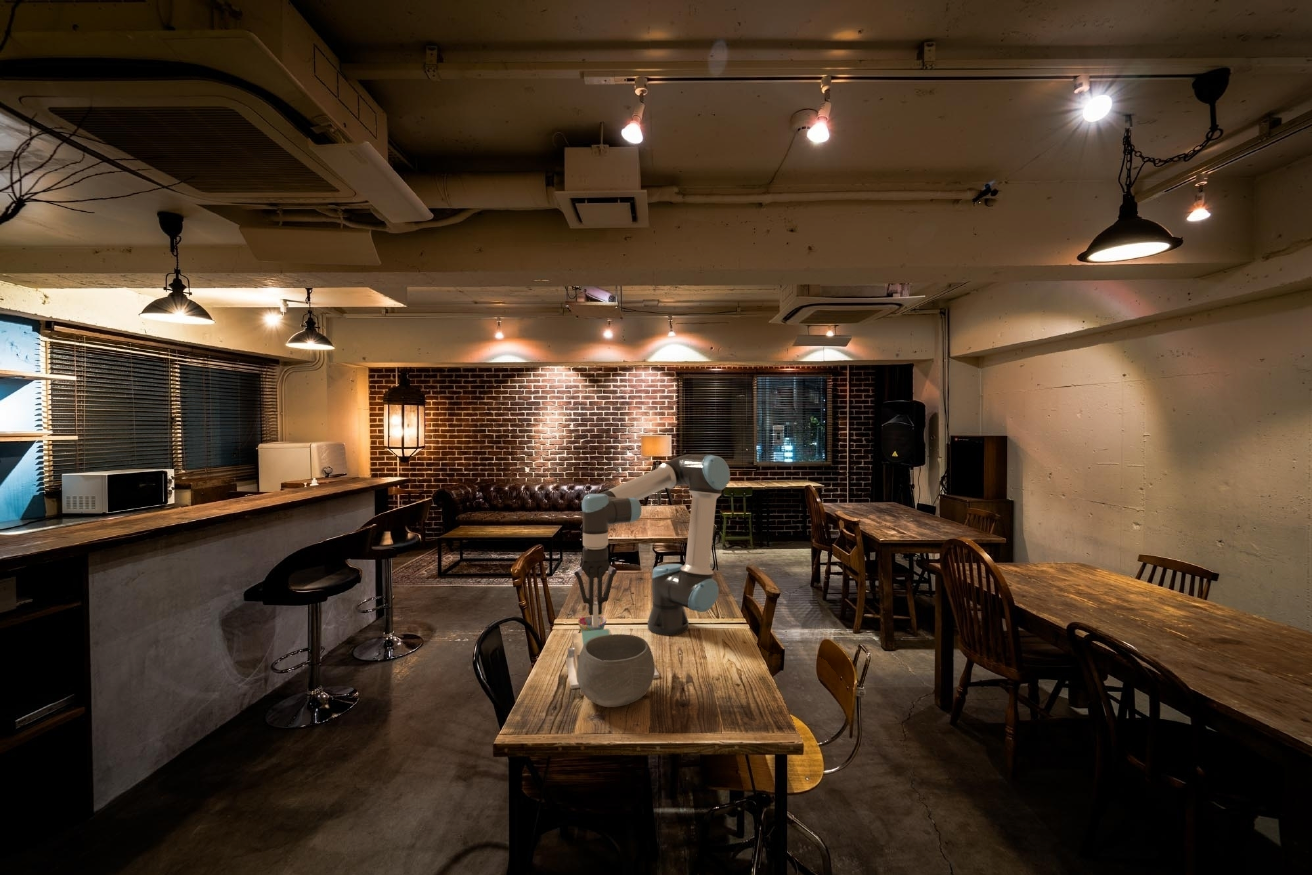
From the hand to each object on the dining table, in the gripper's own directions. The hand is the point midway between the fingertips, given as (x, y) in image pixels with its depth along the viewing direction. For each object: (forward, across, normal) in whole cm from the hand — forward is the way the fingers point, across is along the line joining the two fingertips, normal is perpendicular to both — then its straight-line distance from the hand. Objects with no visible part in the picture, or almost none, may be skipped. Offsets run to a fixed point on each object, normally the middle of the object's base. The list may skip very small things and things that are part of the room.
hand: (595, 625), depth 155 cm
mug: (+15, -2, -18) cm, 23 cm away
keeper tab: (+4, 0, +1) cm, 5 cm away
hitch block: (+15, -5, -3) cm, 16 cm away
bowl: (+15, -4, +15) cm, 22 cm away
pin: (+12, 0, -6) cm, 14 cm away
